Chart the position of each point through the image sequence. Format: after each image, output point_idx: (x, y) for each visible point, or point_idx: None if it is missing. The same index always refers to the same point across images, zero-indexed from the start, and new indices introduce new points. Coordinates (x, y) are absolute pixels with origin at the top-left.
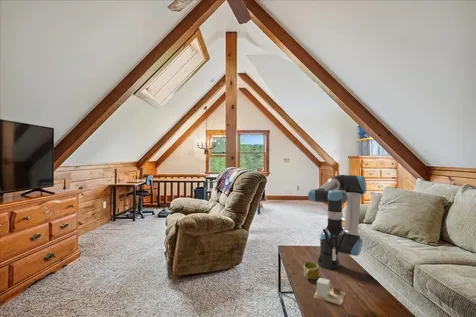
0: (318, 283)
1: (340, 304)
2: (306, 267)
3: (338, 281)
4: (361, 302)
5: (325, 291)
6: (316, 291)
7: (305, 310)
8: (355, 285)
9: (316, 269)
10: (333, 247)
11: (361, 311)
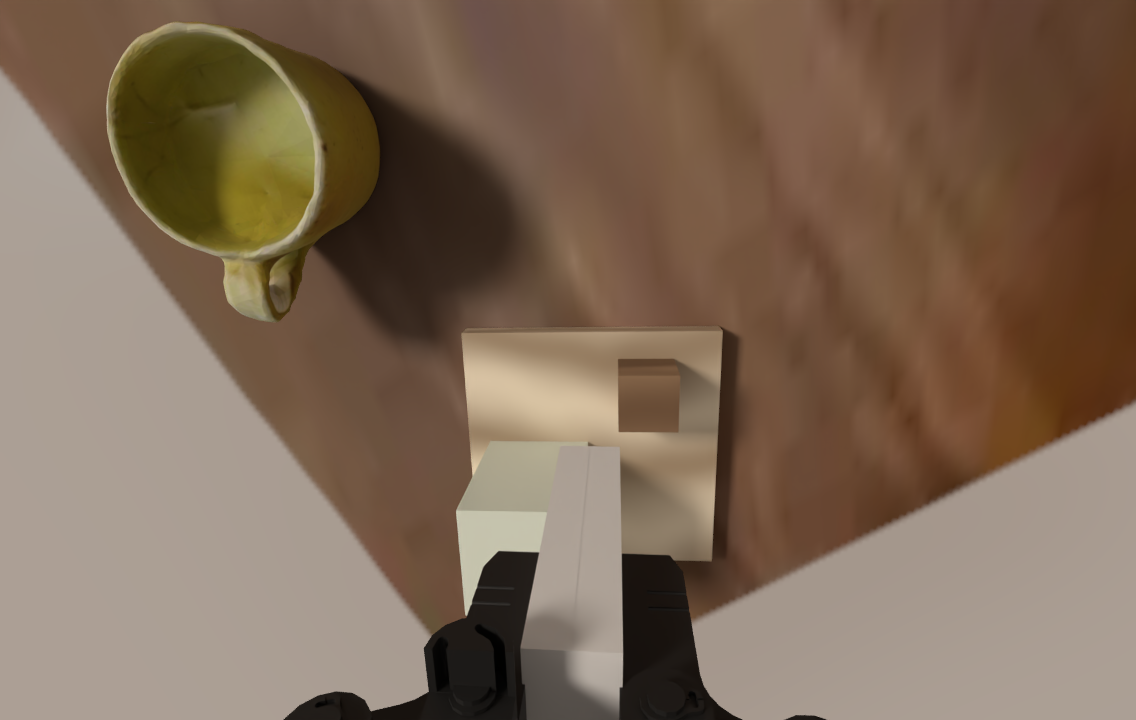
0: None
1: (705, 555)
2: (195, 246)
3: (600, 47)
4: (868, 382)
5: None
6: (472, 461)
7: None
8: (800, 27)
9: (323, 208)
10: (522, 669)
11: (867, 522)
